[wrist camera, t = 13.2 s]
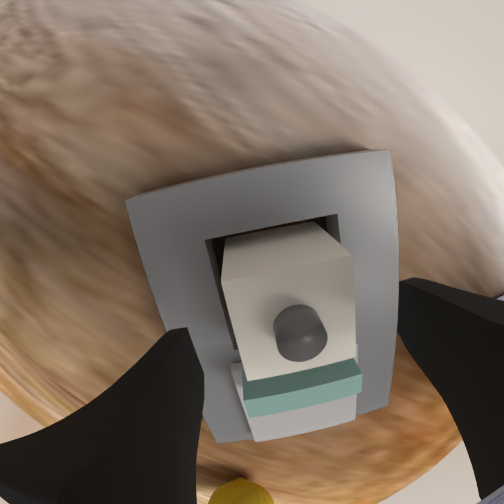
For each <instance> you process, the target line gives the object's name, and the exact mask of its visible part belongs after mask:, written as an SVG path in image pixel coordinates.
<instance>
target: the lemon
mask: <svg viewBox="0 0 504 504" xmlns="http://www.w3.org/2000/svg"><path fill="white" fill-rule="evenodd" d="M208 504H274V502H273V499H272V497H271V495H270V494H269V493H268V492H267V491H266V490H265V489H264V488H263V487H262V486H260V485H258V484H256V483H254V482H251V481H247V480H245V479H244V478H242V477H238V478H236V479H235V480H234V481H231V482H228V483H225V484H223V485H221V486H220V487H219V488H217V489H216V490H215V491H214V493H213V494H212V496H211V498H210V500H209V503H208Z"/></svg>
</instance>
